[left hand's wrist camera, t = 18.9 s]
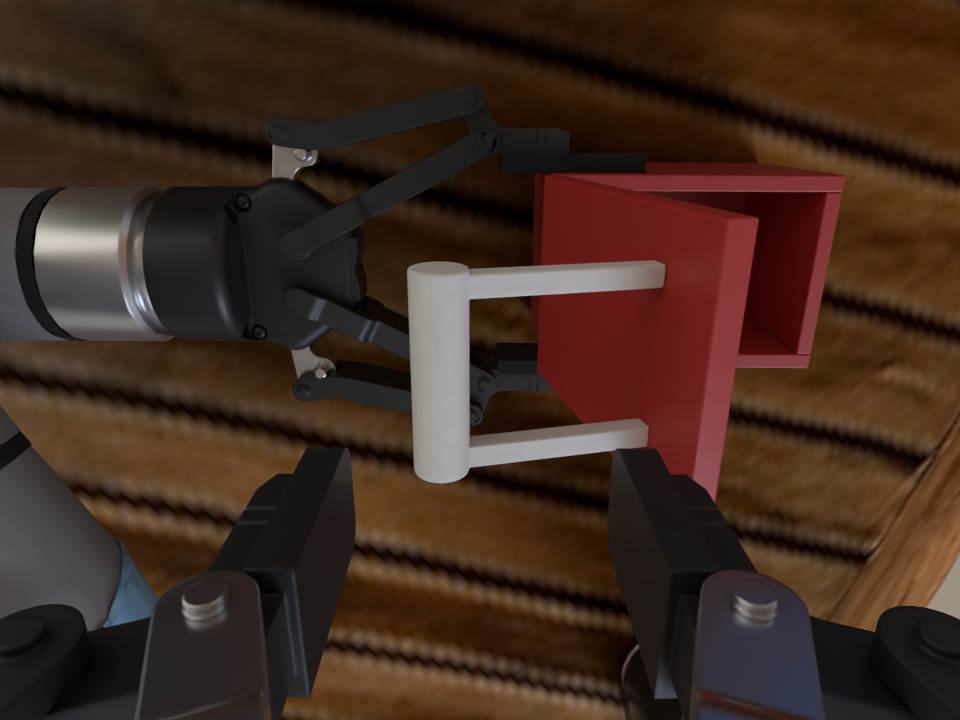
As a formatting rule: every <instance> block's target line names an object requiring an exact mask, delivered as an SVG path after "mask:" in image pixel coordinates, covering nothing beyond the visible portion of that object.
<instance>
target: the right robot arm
mask: <svg viewBox="0 0 960 720" xmlns="http://www.w3.org/2000/svg"><path fill="white" fill-rule="evenodd" d="M460 117H463V119H464V122H465V125H466V128H467V131H468V134H469V135H468V136H466V137H464V138H462V139H460V140H458V141H456V142H455V143H453V144H451V145H449V146H447V147H445V148H443V149H442V150H440V151H438V152H436V153H434V154H432V155H430V156H429V157H427V158H425V159H423V160H421V161H419V162H417V163H416V164H414V165H412V166H410V167H408V168H406V169H404V170H402V171H401V172H399V173H397V174H395V175H393V176H391V177H389V178H388V179H386V180H384V181H382V182H380V183H378V184H376V185H375V186H373V187H371V188H369V189H367V190H365V191H363V192H361V193H359V194H358V195H356V196H354V197H352V198H350V199H348V200H346V201H345V202H343V203H341V204H339V205H335V204H334V203H332V202H331V201H330V200H328V199H327V198H325V197H324V196H322V195H321V194H320V193H318V192H317V191H315V190H314V189H313V188H311V187H310V186H308V185H307V184H305V183H304V182H303V181H301V180H300V179H299V174H300V172H301V170H302V169H303V168H304V167H307V166H312V165H315V164H317V163H318V162H319V161H320V160H321V158H322V150H326V149H332V148H338V147H343V146H348V145H352V144H356V143H360V142H364V141H368V140H372V139H376V138H380V137H384V136H388V135H392V134H396V133H400V132H404V131H408V130H412V129H416V128H420V127H424V126H428V125H432V124H436V123H440V122H444V121H448V120H452V119H456V118H460ZM264 131H265V136H266V138H267V140H268V141H269V142H270V143H271V144H273V178H271V179H269V180H267V181H265V182H264V183H262V184H260V185H258V186H250V187H210V186H177V187H171V188H169V189H167V190H166V191H163V190H161V189H158V188H156V187H154V186H70V187H55V188H18V187H0V343H5V342H11V341H67V340H74V341H87V340H91V341H167V340H170V339H172V338H174V337H176V338H178V339H180V340H183V341H270V342H274V343H277V344H279V345H281V346H283V347H285V348H287V349H290V350H291V353H292V357H293V361H294V365H295V370H296V374H297V381H296V382H295V384H294V386H293V388H292V390H293V394H294V396H295V397H296V398H297V399H298V400H300V401H306V402H307V401H316V400H326V399H335V398H340V399H345V400H350V401H355V402H359V403H364V404H369V405H373V406H378V407H383V408H387V409H392V410H397V411H402V412H406V413H411V414H412V393H411V373H407V372H402V371H398V370H393V369H389V368H384V367H379V366H375V365H370V364H366V363H361V362H355V361H344V360H342V361H338V358H337V357H336V356H335V355H334V354H332V353H330V352H323V351H321V350H319V349H318V348H317V347H316V346H315V344H314V343H315V342H316V341H317V340H319V339H320V338H322V337H323V336H324V335H326V334H327V333H328V332H330V331H331V330H332V329H334V330H337V331H339V332H341V333H343V334H345V335H347V336H349V337H352V338H354V339H356V340H358V341H362V342H371V343H373V344H375V345H377V346H380V347H382V348H384V349H386V350H388V351H390V352H392V353H394V354H397V355H399V356H401V357H403V358H405V359H407V360H409V361H410V338H409V319H408V318H406V317H404V316H402V315H400V314H398V313H396V312H394V311H392V310H390V309H388V308H386V307H385V306H384V305H383V304H382V303H381V302H379V301H377V300H375V299H373V298H371V297H369V296H367V295H365V294H366V292H367V277H366V274H365V271H364V268H363V265H362V256H363V251H364V246H365V245H364V231H361V230H360V227H359V226H360V225H361V224H363V223H365V222H367V221H369V220H370V219H372V218H374V217H375V216H377V215H379V214H381V213H383V212H385V211H387V210H389V209H391V208H392V207H394V206H396V205H398V204H400V203H402V202H404V201H406V200H408V199H410V198H411V197H413V196H415V195H417V194H419V193H421V192H423V191H425V190H427V189H428V188H430V187H432V186H434V185H436V184H438V183H440V182H442V181H444V180H445V179H447V178H449V177H451V176H453V175H455V174H457V173H459V172H461V171H463V170H464V169H466V168H468V167H470V166H472V165H474V164H476V163H478V162H480V161H481V160H483V159H485V158H487V157H489V156H499V171H500V173H645V169H646V157H647V156H644V155H639V154H634V153H569V144H570V133H569V132H567V131H565V130H562V129H560V128H504V127H501V126H499V125H497V124H496V123H495V122H494V121H493V119H492V117H491V114H490V111H489V108H488V105H487V102H486V99H485V96H484V94H483V91H482V90H481V89H480V88H479V87H478V86H476V85H474V84H467V85H463V86H459V87H455V88H451V89H447V90H443V91H439V92H436V93H432V94H428V95H424V96H420V97H416V98H412V99H408V100H404V101H400V102H396V103H392V104H388V105H384V106H380V107H376V108H372V109H368V110H364V111H360V112H356V113H352V114H348V115H344V116H340V117H336V118H333V119H329V120H325V121H321V122H320V121H312V120H305V119H297V118H272V119H270V120H269V121H268V122H267V123H266V125H265V130H264ZM537 361H538V343H497V360H494V357H493V355H492V354H490V353H489V354H488V356H485V355H483V354H481V353H479V352H477V351H475V350H473V349H471V348H469V390H470V426H475V425H478V424H479V423H480V422H481V421H482V419H483V413H484V410H485V408H486V405H487V403H488V400H489V399H490V397H491V396H492V395H493V394H494V393H496V392H499V391H549V390H552V388H551V387H550V385H549V384H548V383H547V382H546V381H545V380H544V379H543V378H542V376H541V375H540V374H539V373H538V372H537ZM158 600H159V597H158V596H157V595H156V593H155V592H154V590H153V589H152V587H151V586H150V585H149V583H148V582H147V580H146V579H145V577H144V576H143V575H142V573H141V572H140V570H139V569H138V567H137V566H136V565H135V563H134V562H133V560H132V559H131V557H130V556H129V554H128V551H127V550H126V548H125V545H124V544H123V543H122V542H120V541H119V540H118V539H117V537H116V536H111V535H110V534H109V533H108V532H107V531H106V530H105V528H104V527H103V526H102V525H101V524H100V523H99V522H98V521H97V519H96V518H95V517H94V516H93V515H92V514H91V513H90V512H89V510H88V509H87V508H86V507H85V506H84V505H83V504H82V503H81V501H80V500H79V499H78V498H77V497H76V496H75V495H74V493H73V492H72V491H71V490H70V489H69V488H68V487H67V486H66V484H65V483H64V482H63V481H62V480H61V479H60V478H59V477H58V475H57V474H56V473H55V472H54V471H53V470H52V469H51V468H50V466H49V465H48V464H47V463H46V462H45V461H44V460H43V459H42V457H41V456H40V455H39V454H38V453H37V452H36V451H35V449H34V448H33V447H32V446H31V443H30V442H29V440H28V439H27V438H26V437H25V436H24V435H23V433H22V432H21V431H20V429H19V428H18V426H17V425H16V424H15V423H14V422H13V420H12V419H11V418H10V417H9V416H8V414H7V413H6V412H5V411H4V410H3V408H2V407H1V406H0V619H1V618H3V617H5V616H7V615H10V614H12V613H15V612H17V611H20V610H23V609H27V608H30V607H35V606H39V605H46V604H63V605H69V606H72V607H74V608H76V609H78V610H79V611H80V612H81V613H82V615H83V617H84V620H85V623H86V627H87V631H92V630H96V629H101V628H105V627H110V626H114V625H119V624H123V623H128V622H132V621H136V620H140V619H144V618H147V617H150V616H151V612H152V609H153V607H154V605H155V603H156V602H157V601H158Z"/></svg>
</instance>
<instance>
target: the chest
mask: <svg viewBox="0 0 960 720" xmlns="http://www.w3.org/2000/svg"><path fill="white" fill-rule="evenodd" d="M546 175H564V176H569V177H574V178H578V179H583V180H587V181H592V182H597V183H601V184H606V185H610V186H615V187H620V188H624V189H629V190H634V191H638V192H643V193H647V194H652V195H657V196H661V197H666V198H670V199H675V200H680V201H684V202H689V203H694V204H698V205H703V206H707V207H712V208H717V209H721V210H726V211H730V212H735V213H740V214H744V215H749V216H754V217H757V218H758V219H759V222H758V228H757V234H756V241H755V247H754V254H753V260H752V267H751V273H750V280H749V286H748V293H747V299H746V306H745V312H744V319H743V325H742V331H741V338H740V344H739V351H738V357H737V364H736V368H808V365H809V360H810V353H811V349H812V344H813V339H814V334H815V329H816V324H817V319H818V314H819V308H820V303H821V298H822V293H823V288H824V283H825V278H826V273H827V268H828V263H829V258H830V253H831V247H832V242H833V237H834V232H835V227H836V222H837V217H838V212H839V207H840V202H841V197H842V193H840V192H842V191H843V187H844V182H845V176H844V175H837V174H831V173H824V172H817V171H810V170H803V169H797V168H790V167H783V166H776V165H769V164H763V163H671V162H646V169H645V173H535V195H534V225H533V255H532V266H541V256H542V230H543V204H544V177H545V176H546ZM539 308H540V295H533V296H531V316H532V320H533V324H534V328H535V332H536V335H537V339H538V334H539Z"/></svg>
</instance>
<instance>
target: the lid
mask: <svg viewBox="0 0 960 720" xmlns="http://www.w3.org/2000/svg"><path fill="white" fill-rule="evenodd" d="M758 222H759V219H758V218H757V217H754V216H749V215H744V214H740V213H735V212H730V211H726V210H721V209H717V208H712V207H707V206H703V205H698V204H694V203H689V202H684V201H680V200H675V199H670V198H666V197H661V196H657V195H652V194H647V193H643V192H638V191H634V190H629V189H624V188H620V187H615V186H610V185H606V184H601V183H597V182H592V181H587V180H583V179H578V178H574V177H569V176H564V175H546V176H545V177H544V204H543V230H542V256H541V266H522V267H502V268H481V269H468V267H467V266H465V265H463V264H459V263H454V262H424V263H418V264H415V265H412V266H410V267H409V268H408V270H407V282H408V310H409V338H410V365H411V393H412V421H413V449H414V470H415V472H416V474H417V476H418V477H420V478H421V479H423V480H425V481H428V482H432V483H449V482H454V481H457V480H459V479H461V478H463V477H464V476H465V475H466V474H467V473H468V471H469V468H470V467H479V466H487V465H496V464H504V463H512V462H521V461H529V460H538V459H546V458H554V457H563V456H571V455H579V454H588V453H596V452H605V451H608V452H609V453H610V454H611V455H612V456H613V455H614V451H615V449H617V448H655V449H657V450H658V452H659V454H660V456H661V457H662V459H663V461H664V463H665V465H666V467H667V468H668V470H669V472H670V474H686V475H687V476H689V477H690V478H691V479H693V480H694V481H695V482H697V483H698V484H700V485H701V486H702V487H704V488H705V489H706V490H707V491H708V493H709V494H710V496H711V498H712V499H713V501H714V503H715V500H716V493H717V487H718V480H719V474H720V467H721V461H722V454H723V448H724V441H725V435H726V429H727V422H728V416H729V409H730V403H731V396H732V390H733V383H734V377H735V370H736V364H737V357H738V351H739V344H740V338H741V331H742V325H743V319H744V312H745V306H746V299H747V293H748V286H749V280H750V273H751V267H752V260H753V254H754V247H755V241H756V234H757V228H758ZM533 295H540V308H539V334H538V361H537V372H538V373H539V374H540V375H541V376H542V378H543V379H544V380H545V381H546V382H547V383H548V384H549V385H550V387H551V388H552V389H553V390H554V391H555V392H556V393H557V394H558V396H559V397H560V398H561V399H562V400H563V401H564V402H565V403H566V404H567V406H568V407H569V408H570V409H571V410H572V411H573V412H574V413H575V415H576V416H577V417H578V418H579V419H580V420H581V421H582V422H583V424H581V425H572V426H562V427H553V428H544V429H535V430H525V431H516V432H507V433H497V434H488V435H479V436H470V390H469V299H482V298H499V297H516V296H533Z"/></svg>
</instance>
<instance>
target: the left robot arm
mask: <svg viewBox="0 0 960 720" xmlns="http://www.w3.org/2000/svg"><path fill="white" fill-rule="evenodd" d="M355 526H356V524H355V508H354V495H353V483H352V470H351V459H350V453H349V450H348V448H307V449H306V450H305V452H304V454H303V456H302V458H301V460H300V462H299V463H298V465H297V467H296V469H295V471H294V473H293V474H277V475H275V476H274V477H273V478H271V479H270V480H269V481H267V482H266V483H265V484H263V485H262V486H261V487H259V488H258V489H257V490H256V492H255V493H254V495H253V497H252V498H251V500H250V502H249V503H248V505H247V508H246V510H244V511H243V513H242V515H241V516H240V518H239V520H238V524H237V525H235V526H234V528H233V530H232V531H231V533H230V534H229V536H228V538H227V539H226V541H225V543H224V544H223V546H222V548H221V549H220V551H219V553H218V554H217V556H216V557H215V559H214V561H213V562H212V564H211V566H210V567H209V569H208V571H207V572H204V573H200V574H197V575H194V576H192V577H189V578H187V579H185V580H183V581H181V582H179V583H178V584H176V585H174V586H173V587H171V588H170V589H169V590H167V591H166V592H165V593H164V594H163V595H162V596H161V597H160V598H159V600H158V601H157V602H156V603H155V605H154V607H153V609H152V612H151V616H150V617H147V618H144V619H140V620H136V621H132V622H128V623H123V624H119V625H114V626H110V627H105V628H101V629H96V630H92V631H87V627H86V623H85V620H84V617H83V615H82V613H81V612H80V611H79V610H78V609H76V608H74V607H72V606H69V605H63V604H46V605H39V606H35V607H30V608H27V609H23V610H20V611H17V612H15V613H12V614H10V615H7V616H5V617H3V618H1V619H0V720H280V717H281V714H282V711H283V708H284V705H285V702H286V699H287V697H310V695H311V692H312V688H313V685H314V682H315V678H316V675H317V672H318V668H319V665H320V661H321V658H322V655H323V651H324V648H325V645H326V641H327V638H328V634H329V631H330V628H331V624H332V621H333V618H334V614H335V611H336V607H337V604H338V601H339V597H340V594H341V590H342V587H343V584H344V580H345V577H346V574H347V570H348V567H349V563H350V560H351V557H352V553H353V549H354V542H355ZM608 542H609V549H610V553H611V557H612V560H613V563H614V567H615V570H616V573H617V577H618V580H619V583H620V586H621V590H622V593H623V596H624V600H625V603H626V606H627V610H628V613H629V616H630V619H631V623H632V626H633V629H634V633H635V636H636V640H635V641H634V642H633V643H632V644H631V646H630V647H629V648H628V650H627V651H626V653H625V655H624V657H623V659H622V662H621V667H620V677H621V682H622V686H623V690H624V694H623V696H622V698H621V700H622V704H623V708H624V712H625V716H626V720H960V620H959V619H957V618H955V617H953V616H950V615H948V614H945V613H942V612H939V611H936V610H932V609H928V608H924V607H916V606H899V607H894V608H890V609H888V610H886V611H885V612H883V613H882V614H881V616H880V617H879V620H878V623H877V627H876V630H875V632H872V631H868V630H864V629H859V628H855V627H850V626H846V625H841V624H837V623H832V622H828V621H825V620H821V619H818V618H815V617H812V616H809V612H808V609H807V607H806V605H805V603H804V602H803V601H802V600H801V598H800V597H799V596H798V595H797V594H796V593H795V592H794V591H793V590H791V589H790V588H789V587H787V586H786V585H784V584H782V583H781V582H779V581H777V580H775V579H773V578H771V577H768V576H766V575H763V574H760V573H758V572H757V571H756V569H755V567H754V566H753V564H752V562H751V561H750V559H749V558H748V556H747V554H746V553H745V551H744V549H743V548H742V546H741V545H740V543H739V541H738V540H737V538H736V537H735V535H734V533H733V532H732V530H731V528H730V527H729V526H727V524H726V520H725V519H724V517H723V515H722V514H721V512H720V511H718V510H717V506H716V504H715V503H714V501H713V499H712V498H711V496H710V494H709V493H708V491H707V490H706V489H705V488H704V487H702V486H701V485H700V484H698V483H697V482H695V481H694V480H693V479H691V478H690V477H689V476H687V475H686V474H670V472H669V470H668V468H667V467H666V465H665V463H664V461H663V459H662V457H661V456H660V454H659V452H658V450H657V449H655V448H617V449H615V451H614V455H613V462H612V473H611V486H610V498H609V510H608Z"/></svg>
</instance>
